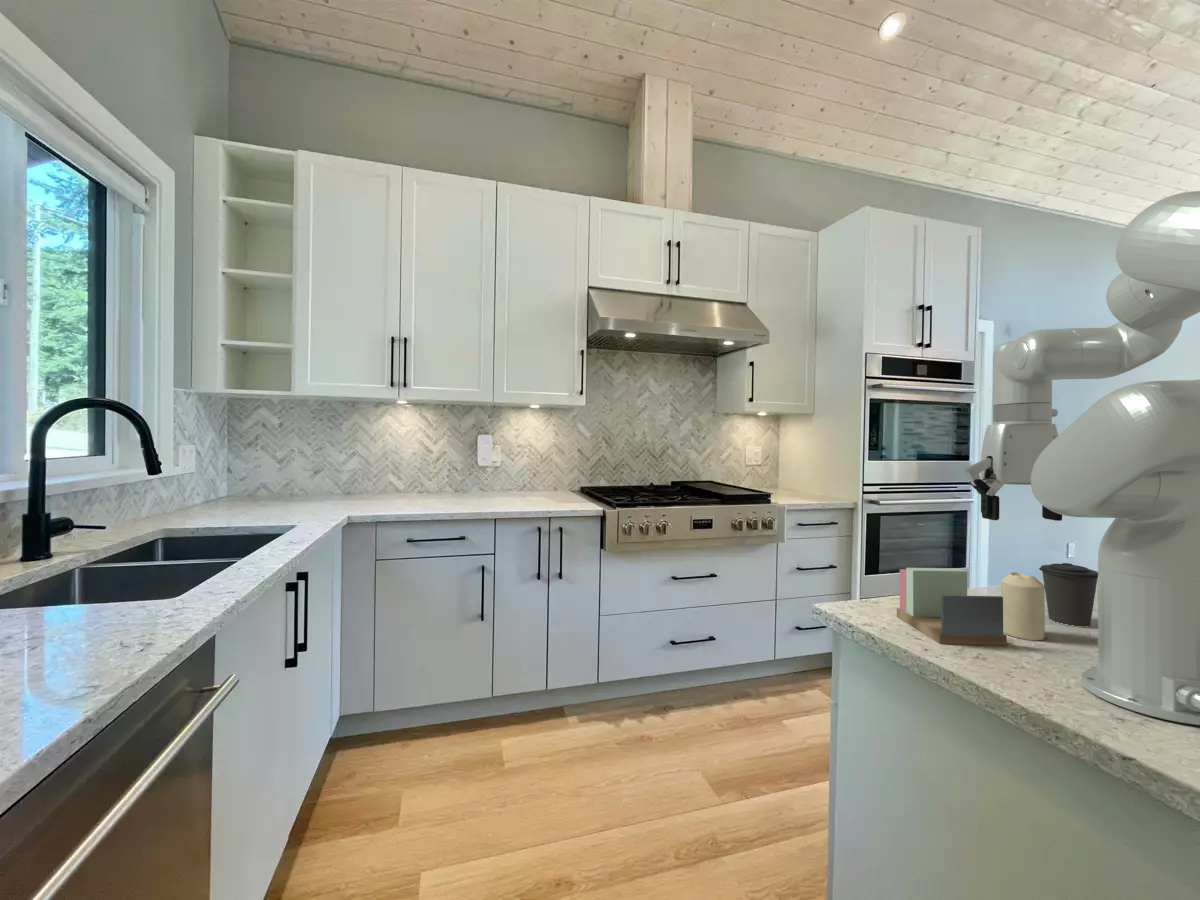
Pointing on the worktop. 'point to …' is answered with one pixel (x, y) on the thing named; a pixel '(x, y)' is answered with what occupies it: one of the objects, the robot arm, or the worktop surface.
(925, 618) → the brown wooden board
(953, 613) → the bookend
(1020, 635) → the candle
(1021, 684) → the worktop surface
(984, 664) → the worktop surface
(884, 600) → the worktop surface
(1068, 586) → the coffee cup
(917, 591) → the books
